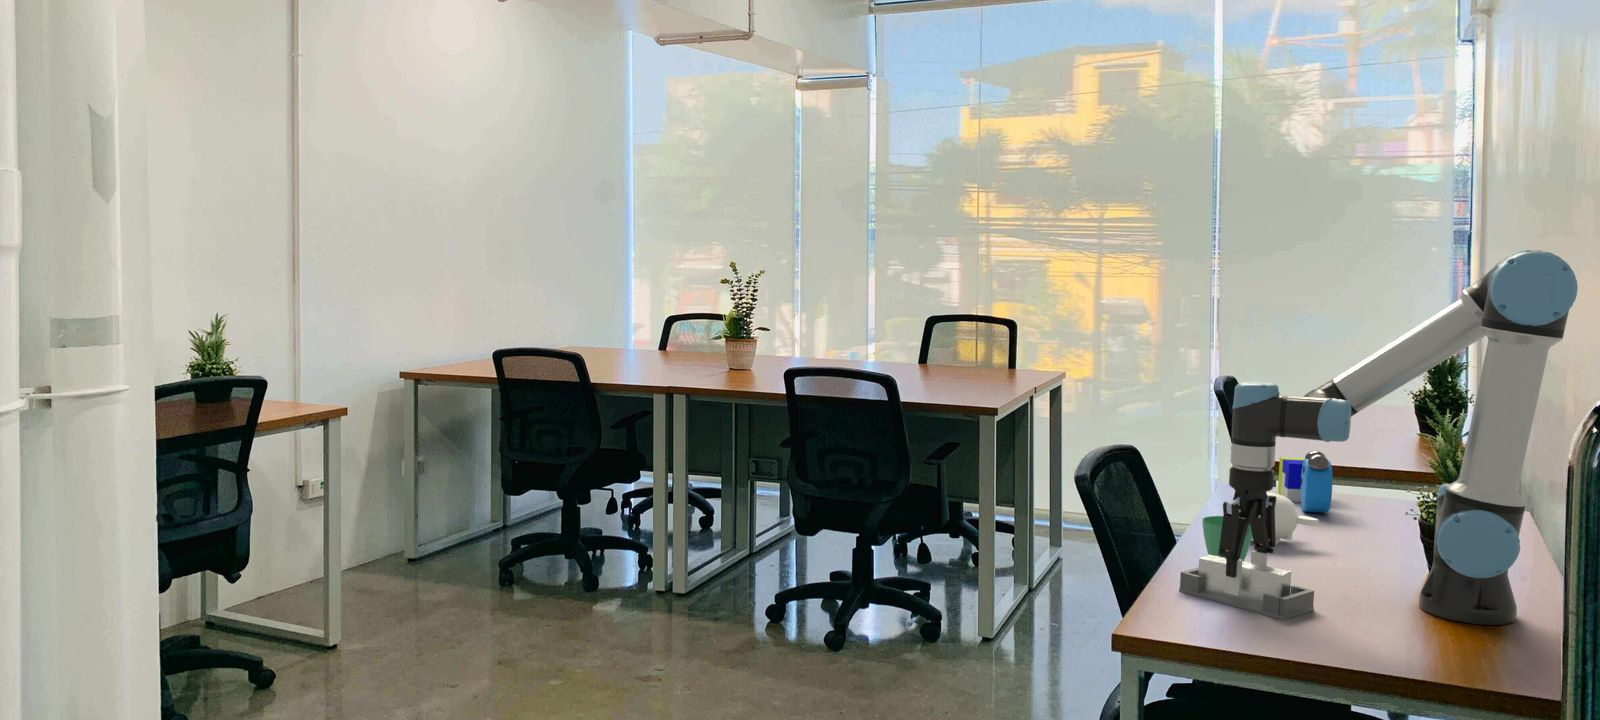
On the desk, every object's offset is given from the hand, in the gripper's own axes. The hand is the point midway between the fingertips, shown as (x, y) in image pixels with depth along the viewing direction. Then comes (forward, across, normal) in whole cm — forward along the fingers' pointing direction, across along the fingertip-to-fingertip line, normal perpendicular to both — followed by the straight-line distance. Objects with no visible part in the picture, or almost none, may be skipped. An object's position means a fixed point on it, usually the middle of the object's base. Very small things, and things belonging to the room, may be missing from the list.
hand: (1245, 590), depth 212 cm
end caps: (+2, 0, 0) cm, 2 cm away
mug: (+2, -18, -15) cm, 24 cm away
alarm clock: (+2, -84, -33) cm, 90 cm away
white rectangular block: (+1, 0, 0) cm, 1 cm away
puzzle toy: (+2, -98, -44) cm, 107 cm away
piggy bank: (+2, -46, -21) cm, 51 cm away
